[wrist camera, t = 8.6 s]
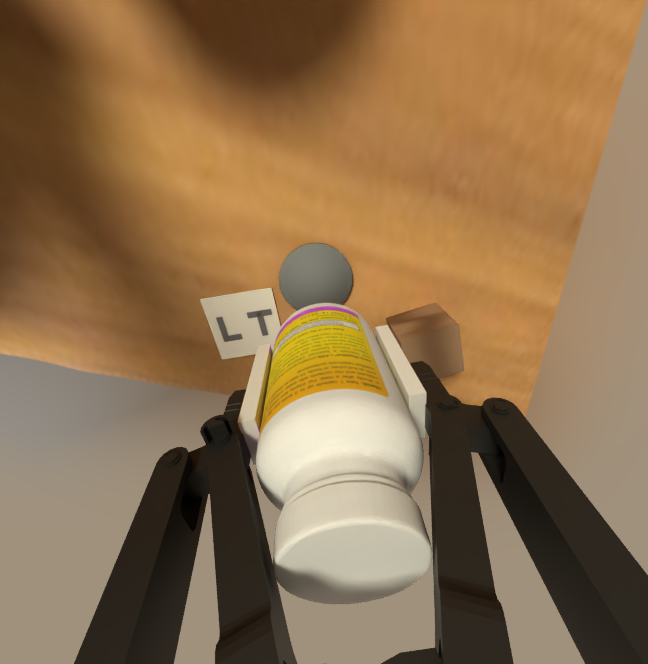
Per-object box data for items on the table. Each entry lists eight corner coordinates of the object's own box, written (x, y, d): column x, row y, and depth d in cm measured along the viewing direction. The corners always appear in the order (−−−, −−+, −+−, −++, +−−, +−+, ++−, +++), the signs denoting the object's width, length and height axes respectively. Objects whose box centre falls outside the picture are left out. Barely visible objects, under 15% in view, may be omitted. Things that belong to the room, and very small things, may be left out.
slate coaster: (287, 318, 34) (287, 319, 34) (272, 249, 31) (271, 250, 30) (355, 307, 34) (355, 308, 34) (347, 237, 30) (348, 237, 30)
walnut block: (395, 357, 38) (410, 386, 33) (385, 317, 35) (400, 342, 30) (441, 343, 37) (464, 370, 32) (434, 302, 35) (458, 324, 29)
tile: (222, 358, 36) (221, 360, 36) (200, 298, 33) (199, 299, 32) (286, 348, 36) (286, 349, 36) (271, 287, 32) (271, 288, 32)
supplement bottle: (253, 338, 19) (182, 567, 8) (335, 278, 18) (392, 454, 6) (316, 399, 22) (329, 637, 11) (391, 351, 20) (502, 569, 9)
